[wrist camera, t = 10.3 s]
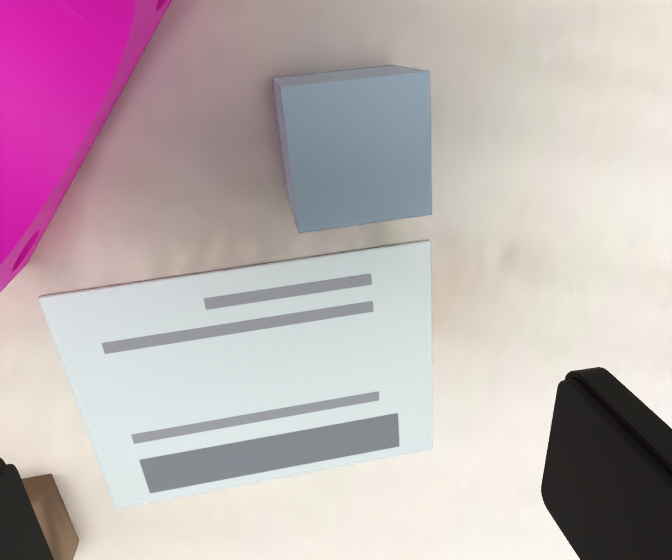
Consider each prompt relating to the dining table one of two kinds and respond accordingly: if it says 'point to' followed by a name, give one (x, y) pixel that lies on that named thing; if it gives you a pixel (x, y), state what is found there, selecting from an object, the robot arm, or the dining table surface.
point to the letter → (251, 370)
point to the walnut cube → (52, 516)
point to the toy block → (57, 102)
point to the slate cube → (355, 145)
